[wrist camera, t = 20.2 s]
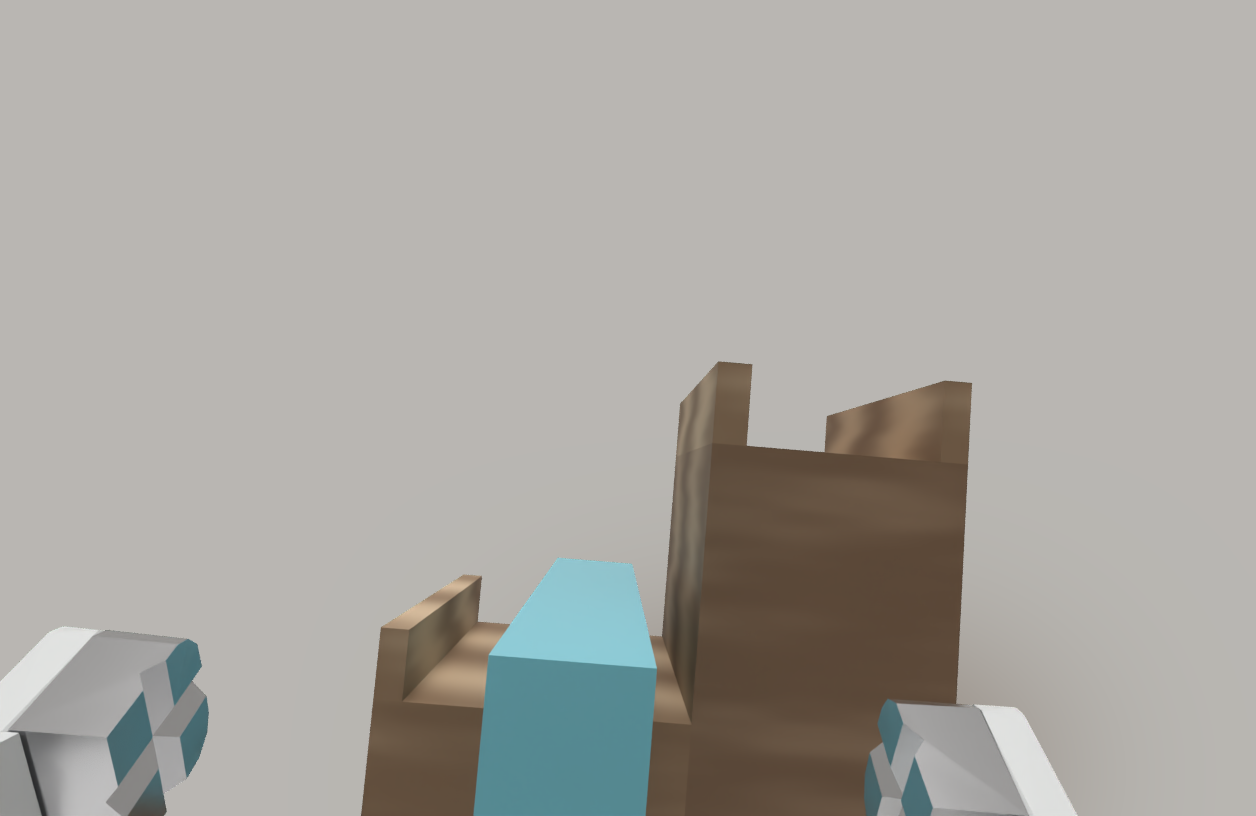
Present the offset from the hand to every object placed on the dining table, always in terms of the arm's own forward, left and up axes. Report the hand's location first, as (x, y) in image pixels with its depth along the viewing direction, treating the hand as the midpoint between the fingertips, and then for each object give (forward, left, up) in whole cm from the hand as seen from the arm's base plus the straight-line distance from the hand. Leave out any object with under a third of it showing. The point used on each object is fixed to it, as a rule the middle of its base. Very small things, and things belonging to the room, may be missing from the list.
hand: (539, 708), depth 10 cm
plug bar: (-14, -9, -4) cm, 17 cm away
